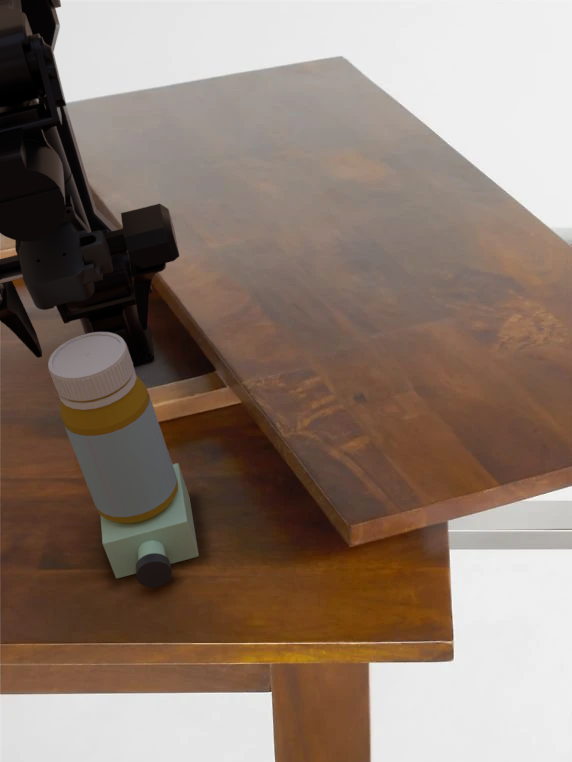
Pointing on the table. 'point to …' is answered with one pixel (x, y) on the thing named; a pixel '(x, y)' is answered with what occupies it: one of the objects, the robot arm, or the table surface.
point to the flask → (153, 541)
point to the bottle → (113, 428)
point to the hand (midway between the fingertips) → (92, 341)
